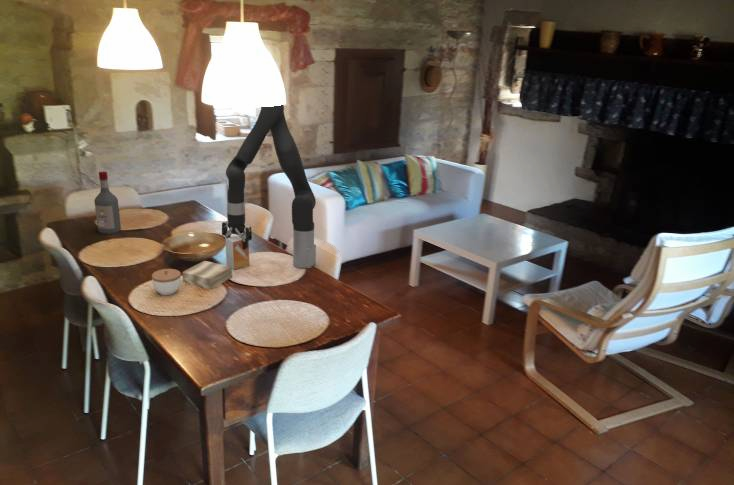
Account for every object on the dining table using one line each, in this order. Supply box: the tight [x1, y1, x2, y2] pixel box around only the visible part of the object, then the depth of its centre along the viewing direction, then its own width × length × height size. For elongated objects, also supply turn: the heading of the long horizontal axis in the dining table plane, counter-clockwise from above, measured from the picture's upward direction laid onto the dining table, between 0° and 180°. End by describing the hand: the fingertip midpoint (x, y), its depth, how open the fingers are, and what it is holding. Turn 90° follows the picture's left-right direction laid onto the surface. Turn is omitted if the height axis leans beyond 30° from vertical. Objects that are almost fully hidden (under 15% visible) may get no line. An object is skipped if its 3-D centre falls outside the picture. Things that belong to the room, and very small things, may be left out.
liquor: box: [93, 171, 122, 235], centre depth 283 cm, size 9×9×30 cm
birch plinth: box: [181, 260, 233, 290], centre depth 239 cm, size 14×14×5 cm
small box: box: [224, 235, 250, 271], centre depth 252 cm, size 8×6×13 cm
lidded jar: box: [151, 268, 182, 296], centre depth 226 cm, size 11×11×9 cm
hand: (237, 246), depth 251 cm, fingers open, 8 cm apart
